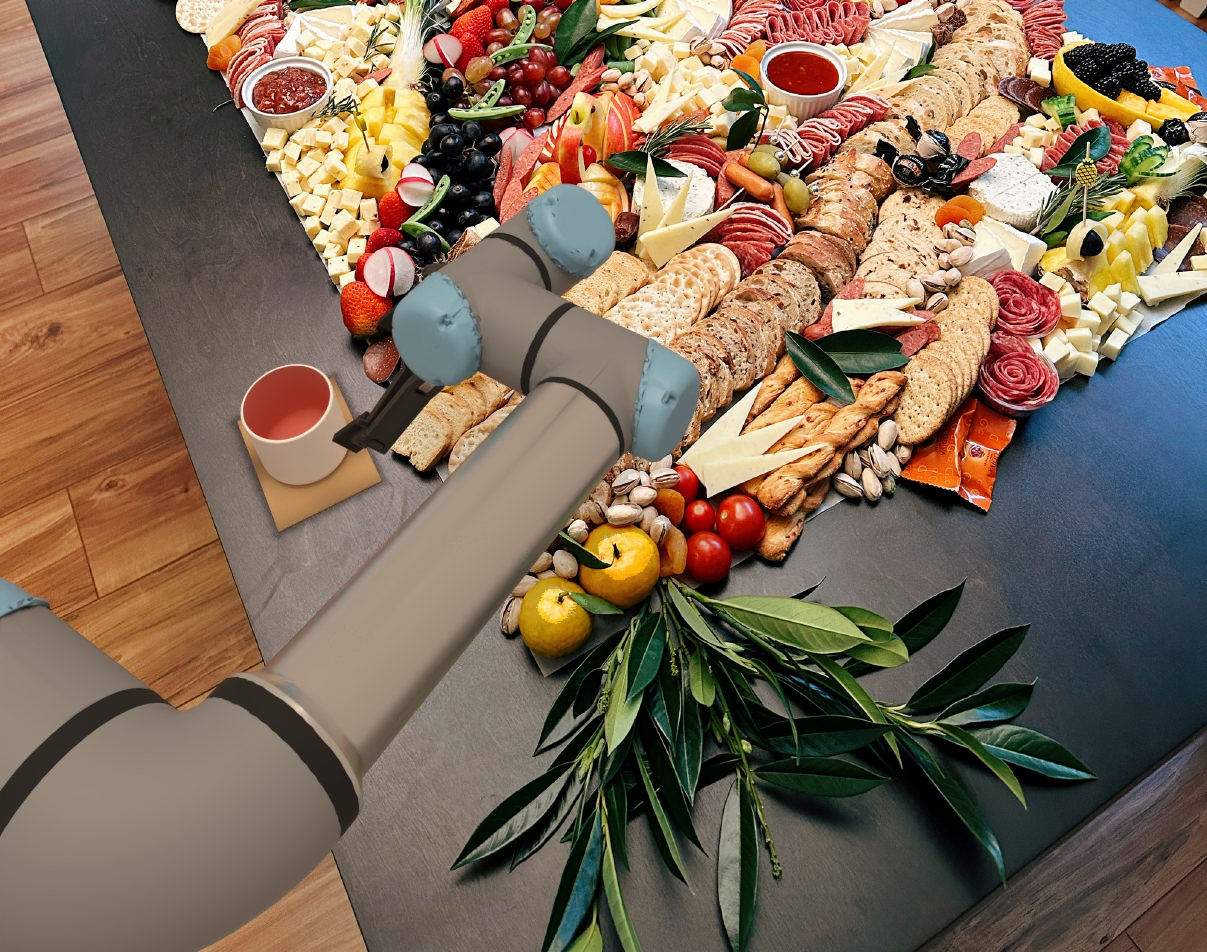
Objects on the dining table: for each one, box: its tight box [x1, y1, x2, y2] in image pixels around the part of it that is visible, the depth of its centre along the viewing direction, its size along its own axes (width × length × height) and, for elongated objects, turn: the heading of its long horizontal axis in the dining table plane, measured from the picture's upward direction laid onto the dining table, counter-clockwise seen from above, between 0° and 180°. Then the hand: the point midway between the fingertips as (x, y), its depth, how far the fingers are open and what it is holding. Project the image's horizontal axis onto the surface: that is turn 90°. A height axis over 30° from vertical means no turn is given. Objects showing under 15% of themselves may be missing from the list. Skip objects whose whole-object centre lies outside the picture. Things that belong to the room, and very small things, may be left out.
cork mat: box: [236, 376, 383, 533], centre depth 132 cm, size 16×12×1 cm
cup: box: [240, 363, 347, 485], centre depth 128 cm, size 10×10×10 cm
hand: (367, 383), depth 114 cm, fingers open, 13 cm apart
